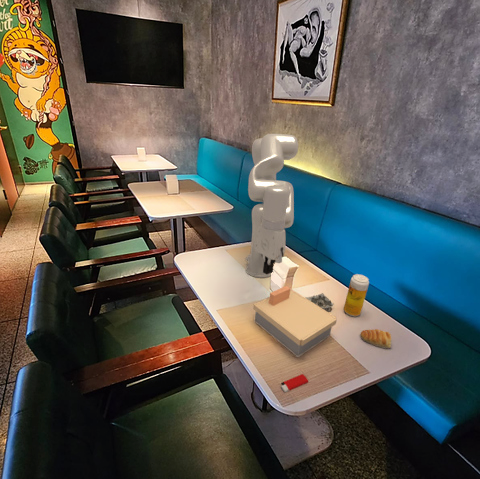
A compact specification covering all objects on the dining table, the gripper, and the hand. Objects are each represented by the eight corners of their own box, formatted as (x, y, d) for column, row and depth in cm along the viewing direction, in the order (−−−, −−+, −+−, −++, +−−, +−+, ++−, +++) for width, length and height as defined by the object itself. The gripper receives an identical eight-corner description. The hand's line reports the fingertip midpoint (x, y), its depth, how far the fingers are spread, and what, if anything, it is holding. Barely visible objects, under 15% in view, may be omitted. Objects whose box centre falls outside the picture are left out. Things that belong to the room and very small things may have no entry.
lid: (253, 309, 103) (254, 294, 100) (288, 292, 114) (291, 278, 111) (300, 346, 88) (303, 330, 86) (336, 323, 99) (340, 308, 96)
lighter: (308, 380, 83) (284, 391, 80) (308, 383, 84) (284, 394, 80) (302, 373, 86) (278, 382, 82) (301, 376, 86) (278, 386, 83)
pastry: (360, 344, 99) (363, 335, 97) (358, 331, 105) (361, 322, 103) (391, 350, 97) (394, 341, 95) (387, 336, 103) (390, 328, 102)
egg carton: (311, 317, 110) (313, 308, 108) (299, 305, 116) (300, 296, 114) (334, 311, 114) (336, 302, 113) (321, 299, 120) (323, 291, 119)
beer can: (339, 309, 115) (348, 275, 109) (352, 305, 118) (361, 272, 111) (351, 318, 110) (360, 284, 104) (363, 315, 113) (373, 281, 106)
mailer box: (254, 321, 106) (256, 306, 103) (285, 305, 115) (288, 291, 112) (297, 357, 92) (300, 340, 89) (329, 336, 101) (333, 320, 98)
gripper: (249, 218, 102) (245, 266, 109) (281, 233, 91) (275, 285, 99) (265, 215, 106) (261, 261, 114) (298, 228, 96) (290, 278, 103)
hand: (267, 272), depth 106 cm, fingers closed
